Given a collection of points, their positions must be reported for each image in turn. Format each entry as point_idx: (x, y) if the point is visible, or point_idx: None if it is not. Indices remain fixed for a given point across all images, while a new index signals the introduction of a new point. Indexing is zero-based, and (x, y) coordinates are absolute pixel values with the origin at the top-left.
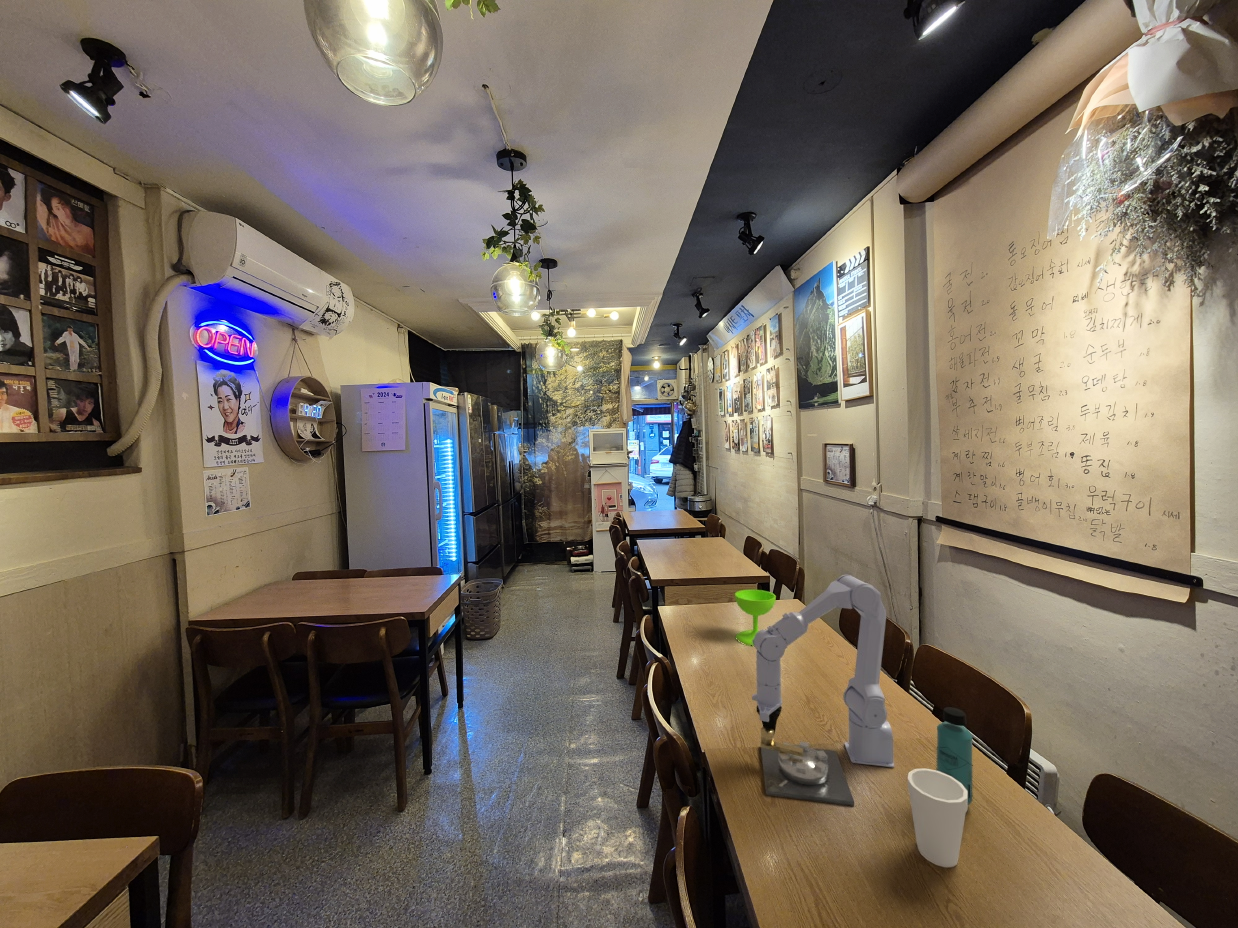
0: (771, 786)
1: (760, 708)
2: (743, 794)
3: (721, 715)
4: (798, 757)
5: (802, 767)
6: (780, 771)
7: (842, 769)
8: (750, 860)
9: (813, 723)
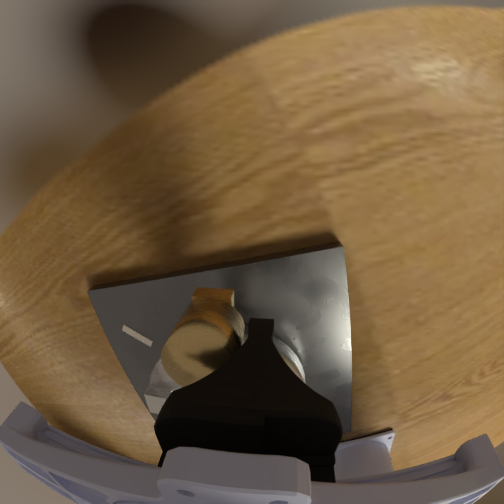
0: (108, 304)
1: (28, 459)
2: (67, 227)
3: (475, 81)
4: None
5: (155, 407)
6: None
7: None
8: None
9: (475, 364)
